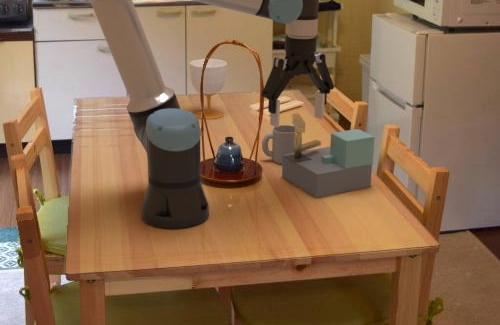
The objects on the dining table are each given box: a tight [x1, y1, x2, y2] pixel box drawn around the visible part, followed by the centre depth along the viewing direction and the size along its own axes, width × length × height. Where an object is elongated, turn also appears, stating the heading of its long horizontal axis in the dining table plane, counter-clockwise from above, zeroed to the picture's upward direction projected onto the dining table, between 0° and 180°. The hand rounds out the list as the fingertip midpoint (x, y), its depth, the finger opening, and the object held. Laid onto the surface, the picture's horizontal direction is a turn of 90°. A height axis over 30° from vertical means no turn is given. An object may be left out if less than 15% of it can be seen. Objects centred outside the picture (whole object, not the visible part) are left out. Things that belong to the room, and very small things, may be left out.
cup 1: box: [189, 58, 228, 120], centre depth 256 cm, size 12×12×17 cm
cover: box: [321, 128, 375, 169], centre depth 198 cm, size 10×7×7 cm, turn 117°
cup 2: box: [261, 124, 295, 165], centre depth 217 cm, size 7×10×9 cm
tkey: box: [291, 113, 322, 158], centre depth 201 cm, size 10×8×10 cm
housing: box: [281, 146, 373, 199], centre depth 202 cm, size 16×16×6 cm
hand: (297, 122), depth 199 cm, fingers open, 13 cm apart
